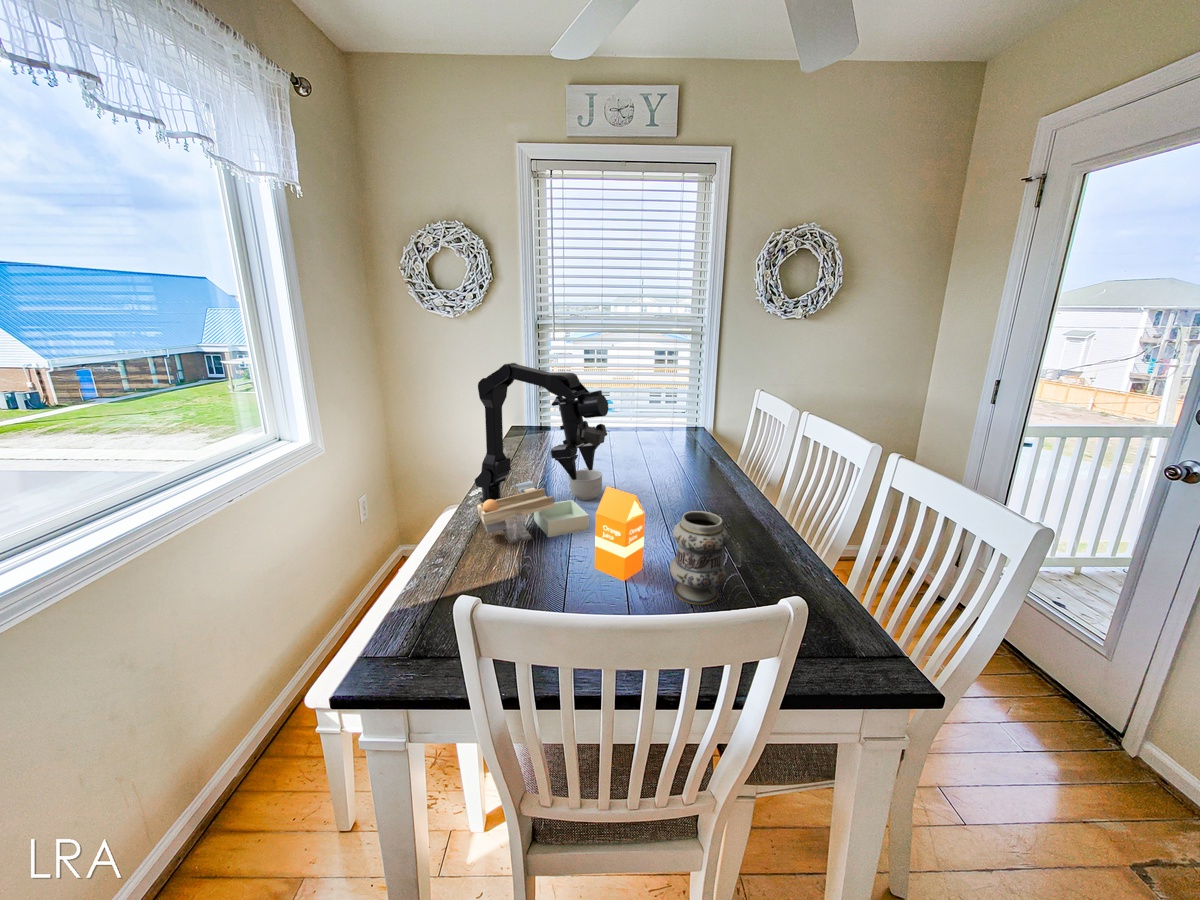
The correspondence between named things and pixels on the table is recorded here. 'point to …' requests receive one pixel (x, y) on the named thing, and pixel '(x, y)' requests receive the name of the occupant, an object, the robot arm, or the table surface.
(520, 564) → the table surface
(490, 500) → the ball
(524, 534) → the pivot stand
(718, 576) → the apothecary jar
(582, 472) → the teacup
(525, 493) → the lever
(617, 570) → the orange juice
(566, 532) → the bin
